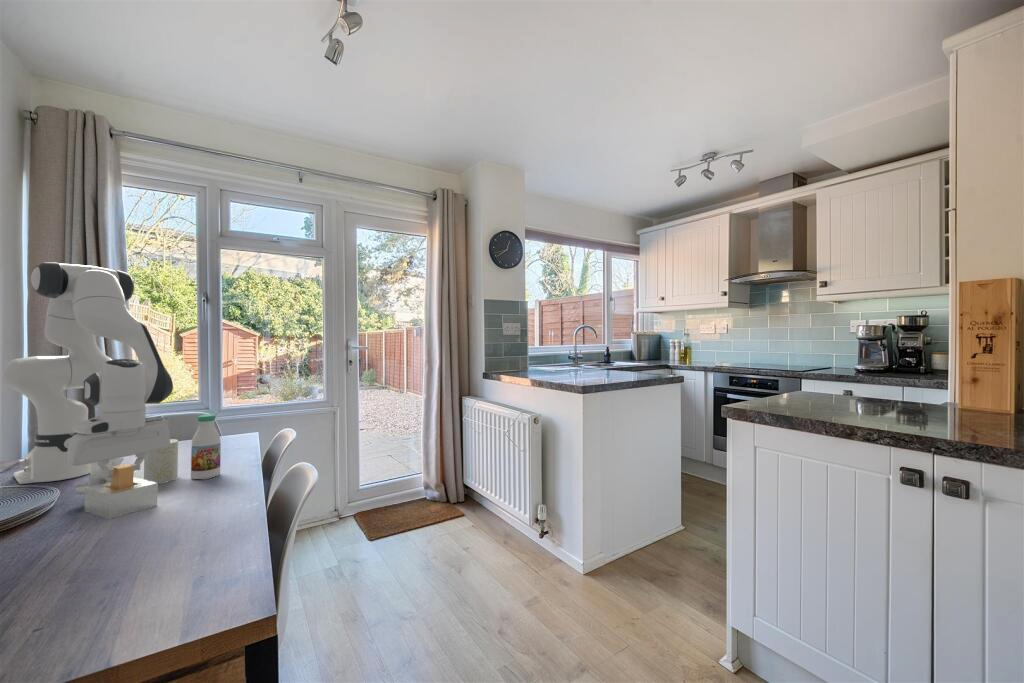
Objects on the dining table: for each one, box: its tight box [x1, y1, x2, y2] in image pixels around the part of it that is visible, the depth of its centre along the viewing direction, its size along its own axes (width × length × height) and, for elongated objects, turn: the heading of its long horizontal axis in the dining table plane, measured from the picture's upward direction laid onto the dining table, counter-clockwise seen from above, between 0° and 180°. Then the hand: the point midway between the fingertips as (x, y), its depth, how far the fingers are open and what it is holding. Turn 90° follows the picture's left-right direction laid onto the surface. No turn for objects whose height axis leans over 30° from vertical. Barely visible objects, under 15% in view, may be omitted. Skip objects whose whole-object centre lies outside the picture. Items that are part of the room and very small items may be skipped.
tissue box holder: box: [75, 458, 159, 520], centre depth 110 cm, size 21×10×18 cm, turn 66°
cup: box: [143, 438, 179, 484], centre depth 130 cm, size 8×8×12 cm
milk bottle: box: [190, 414, 222, 480], centre depth 134 cm, size 8×8×20 cm
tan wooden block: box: [111, 463, 135, 490], centre depth 108 cm, size 4×3×11 cm
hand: (122, 473), depth 108 cm, fingers open, 4 cm apart
